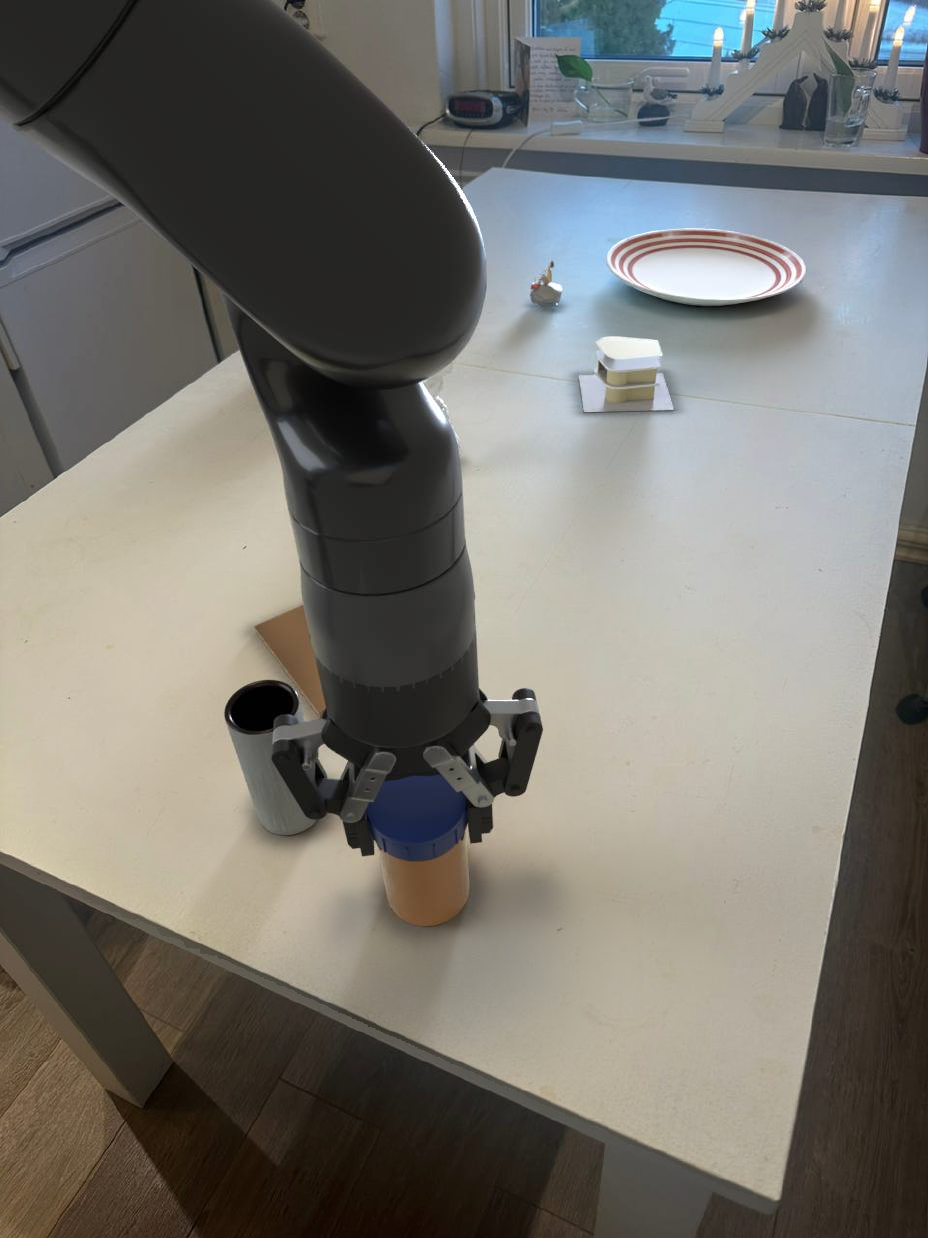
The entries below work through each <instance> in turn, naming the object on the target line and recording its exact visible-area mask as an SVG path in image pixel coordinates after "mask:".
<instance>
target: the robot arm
mask: <svg viewBox="0 0 928 1238" xmlns="http://www.w3.org/2000/svg"><path fill="white" fill-rule="evenodd" d="M0 120H1V121H3V122H4V123H6V124H10V126H11V127H12V129H13V130H14V131H16V132H17V133H19V134H20V135H22V136H23V137H24V138H26V139H27V140H28V141H30V142H31V143H32V144H34V145H35V146H36V147H37V148H39V149H41V151H43V152H44V153H46V154H48V155H49V156H50V157H52V158H53V159H55V160H56V161H58V162H59V163H61V164H63V165H64V166H65V167H67V168H69V169H70V170H72V171H73V172H75V173H76V174H78V175H79V176H81V177H82V178H83V179H85V180H87V181H88V182H90V183H91V184H93V186H96V187H97V188H99V189H100V190H102V191H103V192H105V194H108V195H109V196H111V197H112V198H114V199H115V200H116V201H118V202H119V203H121V204H122V205H123V206H124V207H126V208H127V209H128V210H130V211H131V212H132V213H133V214H134V215H136V216H137V217H138V218H139V219H140V220H141V221H143V222H144V223H145V224H146V225H147V226H148V227H149V228H150V229H151V230H152V231H153V232H154V233H156V235H157V236H159V237H160V238H161V239H162V240H163V241H164V242H166V244H167V245H168V246H170V248H172V249H173V250H174V251H175V252H176V253H177V254H179V255H180V256H181V257H182V258H183V259H184V260H185V261H186V262H187V263H188V264H190V265H191V266H192V267H193V268H194V269H195V270H197V271H198V273H199V274H201V275H202V276H203V277H204V278H205V279H207V280H208V281H209V282H210V283H211V284H212V285H213V286H214V287H216V288H217V289H218V290H219V292H220V295H221V299H222V302H223V303H222V304H223V305H224V309H225V312H226V315H227V318H228V321H229V324H230V328H231V331H232V333H233V336H234V339H235V341H236V345H237V347H238V350H239V353H240V356H241V358H242V361H243V363H244V367H245V369H246V372H247V374H248V378H249V381H250V383H251V386H252V388H253V391H254V393H255V396H256V399H257V402H258V404H259V406H260V408H261V412H262V414H263V416H264V419H265V421H266V423H267V426H268V430H269V432H270V434H271V437H272V440H273V444H274V446H275V449H276V452H277V456H278V459H279V463H280V467H281V472H282V482H283V489H284V496H285V501H286V506H287V510H288V516H289V520H290V524H291V530H292V533H293V538H294V543H295V547H296V552H297V556H298V561H299V569H300V571H299V572H300V590H301V591H300V592H301V599H302V600H301V601H302V605H303V606H304V611H305V616H306V620H307V625H308V630H309V634H310V639H311V643H312V648H313V652H314V656H315V661H316V665H317V669H318V674H319V678H320V683H321V687H322V692H323V696H324V701H325V705H326V708H325V710H324V712H323V714H322V717H321V718H317V719H312V720H310V721H309V720H308V721H305V722H304V723H300V724H299V722H298V720H297V719H296V718H295V717H294V716H292V715H288V714H283V715H279V716H278V717H276V718H275V720H274V729H273V743H272V757H271V760H272V762H273V764H274V765H275V767H276V769H277V770H278V772H279V773H280V775H281V777H282V778H283V780H284V782H285V783H286V785H287V787H288V788H289V790H290V792H291V793H292V795H293V797H294V798H295V800H296V802H297V803H298V805H299V806H300V808H301V810H302V811H303V813H304V815H305V816H306V817H307V818H309V819H313V820H317V819H318V820H321V819H324V818H325V817H326V816H327V814H332V815H337V816H338V817H339V819H340V820H341V821H342V825H343V829H344V834H345V839H346V842H347V845H348V847H350V848H351V849H352V850H356V849H359V850H360V853H361V857H370V856H375V840H374V839H373V837H372V834H370V830H369V825H368V816H367V806H368V804H369V802H374V800H375V798H376V796H377V794H378V792H379V790H380V788H381V786H382V784H383V782H384V781H392V780H399V779H403V778H406V777H409V776H435V775H442V776H443V777H444V778H445V779H446V781H447V782H448V783H449V784H450V785H451V786H452V787H453V789H454V790H455V791H456V792H460V791H462V792H463V794H464V795H465V796H466V799H467V809H468V820H469V823H468V824H467V830H468V837H469V838H468V839H469V844H470V845H472V844H481V843H483V835H484V834H490V833H491V832H492V830H493V828H494V816H493V815H494V814H493V803H494V800H495V798H496V797H497V796H499V795H502V794H505V795H506V796H508V797H512V798H515V797H520V796H522V795H524V794H525V793H526V791H527V789H528V786H529V781H530V779H531V774H532V771H533V768H534V764H535V761H536V756H537V755H538V750H539V746H540V742H541V740H542V735H543V731H544V728H543V722H542V718H541V713H540V709H539V704H538V701H537V696H536V693H535V691H534V690H533V689H531V688H530V687H529V688H528V687H523V688H519V689H517V690H516V691H514V692H513V694H512V696H511V699H488V697H487V695H486V693H485V692H484V691H483V690H482V689H481V688H480V680H479V678H480V677H479V660H478V640H477V625H476V624H477V623H476V602H475V601H476V591H475V585H474V575H473V574H474V573H473V569H472V563H471V560H470V555H469V552H468V546H467V540H466V539H467V538H466V522H465V520H466V519H465V503H464V485H463V473H462V472H463V470H462V463H461V453H460V454H459V452H460V450H459V448H458V444H457V440H456V436H455V433H456V432H455V433H454V430H453V428H454V427H453V425H452V426H451V424H450V422H451V421H450V420H449V421H450V422H449V421H448V419H447V418H446V416H445V415H444V413H443V412H442V410H441V409H440V408H439V406H438V405H437V403H436V402H435V401H434V399H433V398H432V396H431V395H430V393H429V392H428V390H427V389H426V387H425V385H424V383H423V381H424V380H426V379H428V378H430V377H432V376H434V375H435V374H437V373H439V372H440V371H441V370H443V369H444V368H445V367H447V366H448V365H449V364H450V363H451V362H454V361H455V360H456V359H457V358H458V357H459V355H460V354H461V353H462V352H463V351H464V349H465V348H466V346H467V345H468V344H469V343H470V342H471V339H472V337H473V335H474V333H475V330H476V328H477V327H478V324H479V322H480V319H481V316H482V313H483V310H484V306H485V305H484V304H485V300H486V294H487V284H488V266H487V265H488V263H487V255H486V254H487V253H486V248H485V244H484V239H483V235H482V231H481V229H480V226H479V223H478V220H477V217H476V215H475V213H474V211H473V208H472V206H471V204H470V202H469V201H468V199H467V197H466V196H465V194H464V193H463V190H462V189H461V187H460V185H458V183H457V181H456V180H455V179H454V177H453V176H452V175H451V173H450V172H449V171H448V169H447V168H446V167H445V165H444V164H443V163H442V161H440V159H439V158H438V157H437V156H436V154H434V152H433V151H432V150H431V149H430V148H429V146H427V144H425V143H424V141H423V140H422V139H421V138H420V137H419V136H418V135H417V134H416V133H415V132H414V131H413V130H412V129H411V128H410V127H409V126H408V125H407V123H405V122H404V120H402V118H400V116H398V115H397V114H396V113H395V112H394V111H393V110H392V109H391V108H390V107H389V105H387V104H386V103H385V102H384V100H382V99H381V98H380V97H379V96H378V95H377V94H376V93H375V92H374V91H373V90H372V89H371V88H369V86H368V85H366V84H365V83H364V82H363V81H362V80H361V79H360V78H359V77H358V76H357V75H356V74H355V73H353V72H352V70H351V69H350V68H348V66H346V65H345V64H344V63H343V62H342V61H341V60H340V59H339V58H338V57H337V56H336V55H335V54H334V53H333V52H332V51H330V49H328V47H326V45H324V44H323V43H322V41H320V40H319V39H318V38H317V37H316V36H315V35H314V34H313V33H312V32H311V31H309V30H308V29H307V28H306V27H305V26H304V25H302V24H301V23H300V22H299V21H298V20H297V19H295V17H293V15H291V14H290V13H289V12H287V11H286V10H285V8H283V7H282V6H281V5H280V4H279V3H277V2H276V1H275V0H0ZM452 427H453V428H452ZM490 726H493V727H494V728H496V729H497V732H498V737H500V738H501V741H500V745H499V746H500V747H499V750H498V755H497V756H498V757H497V758H496V759H493V760H490V761H487V759H486V758H485V757H484V756H483V755H482V753H481V752H480V750H478V748H477V746H476V745H475V744H476V742H477V741H478V740H479V739H480V738H481V737H482V736H483V735H484V734H485V733H486V732H487V730H488V729H489V727H490ZM323 745H325V746H326V747H327V748H328V749H329V750H331V751H332V752H334V753H335V754H337V755H339V756H340V757H342V758H343V759H345V760H346V761H347V762H346V763H345V765H344V768H343V772H341V775H340V778H339V779H338V778H330V777H328V774H327V772H326V770H325V768H324V766H323V764H322V763H321V761H320V759H319V748H320V747H321V746H323ZM318 820H317V821H318Z"/></svg>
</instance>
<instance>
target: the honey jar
mask: <svg viewBox="0 0 928 1238" xmlns="http://www.w3.org/2000/svg"><path fill="white" fill-rule="evenodd" d="M466 830H467V829H466ZM466 830H465V832H464V834H463V836H462V838H461V839H460V840H459V843H458V844H456V845H455V846H454V847H453V848H451V849H450V850H449V851H447V852H446V853H444V854H442V855H440V856H438V857H437V858H432V859H429V860H423V861H408V860H402V859H399V858H396V857H394V856H391V855H390V854H388V853H386V852H385V853H384V852H383V850H382V849H381V848H380V847H379V846H378V845H377V844H376V848H377V853H378V858H379V863H380V867H381V873H382V879H383V883H384V889H385V894H386V898H387V902H388V905H389V907H390V909H391V910H392V912H393V913H394V914H395V915H396V916H397V917H398V918H399V919H401V920H402V921H404V922H406V923H407V924H410V925H414V926H418V927H434V926H438V925H442V924H444V923H446V922H448V921H450V920H452V919H453V918H454V917H456V916H457V915H458V914H459V913H460V912H461V911H462V910H463V908H464V906H465V905H466V903H467V901H468V898H469V895H470V887H471V886H470V884H471V883H470V875H469V874H470V873H469V871H470V870H469V859H468V856H469V855H468V845H467V831H466Z"/></svg>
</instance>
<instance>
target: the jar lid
mask: <svg viewBox="0 0 928 1238" xmlns="http://www.w3.org/2000/svg"><path fill="white" fill-rule="evenodd" d="M367 816H368V825H369V830H370V834H372V837H373V839H374V843H376V846H377V845H378V846H379V847H380V848H381V849H382V850H383V852H384V853H385V852H386V853H388V854H390V855H391V856H394V857H396V858H399V859H402V860H408V861H423V860H429V859H432V858H437V857H438V856H440V855H442V854H444V853H446V852H447V851H449V850H450V849H451V848H453V847H454V846H455V845H456V844H458V843H459V840H460V839H461V838H462V836H463V834H464V832H465V830H467V828H468V823H469V820H468V809H467V799H466V796H465V795H464V794H463V792H462V791H460V792H456V791H455V790H454V789H453V787H452V786H451V785H450V784H449V783H448V782H447V781H446V779H445V778H444V777H443V776H442V775H435V776H409V777H406V778H403V779H399V780H392V781H384V782H383V784H382V786H381V788H380V790H379V792H378V794H377V796H376V798H375V800H374V802H369V804H368V806H367Z"/></svg>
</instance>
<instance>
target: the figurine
mask: <svg viewBox="0 0 928 1238" xmlns="http://www.w3.org/2000/svg"><path fill="white" fill-rule="evenodd" d="M548 264H549V265H548V266H547V267H545V268H544V269H543V271H542V273H540V274H539V276H540V278H539V279H538V277H539V276H535V277H533V278H532V280H534V281H535V282H532V283H531V284H530V288H529V289H530V292H529V298H530V301H531V303H532V304H533V305H536V306H537V305H538V306H539V307H540V308H554V309H555V308H557V307H558V305H559V303H560V301H561V299H562V298H561V297H562V293H563V287H562V286H561V285H560V284H557V283H554V282H552V280H553V273H552V269H555V261H554V260H553V259H551V260H550V261H549V263H548Z"/></svg>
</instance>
